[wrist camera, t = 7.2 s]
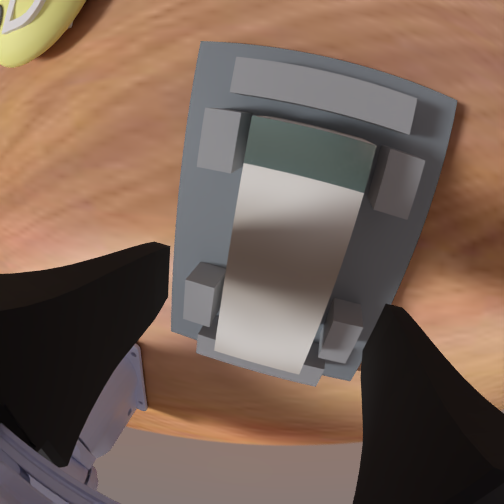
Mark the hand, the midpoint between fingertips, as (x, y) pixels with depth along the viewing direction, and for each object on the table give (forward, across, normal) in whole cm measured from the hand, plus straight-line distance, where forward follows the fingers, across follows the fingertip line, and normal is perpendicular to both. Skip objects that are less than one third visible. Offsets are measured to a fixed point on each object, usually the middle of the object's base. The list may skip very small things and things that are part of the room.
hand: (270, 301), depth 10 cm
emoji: (+7, +20, -14) cm, 25 cm away
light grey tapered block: (+6, 0, 0) cm, 6 cm away
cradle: (+7, 0, 0) cm, 7 cm away
